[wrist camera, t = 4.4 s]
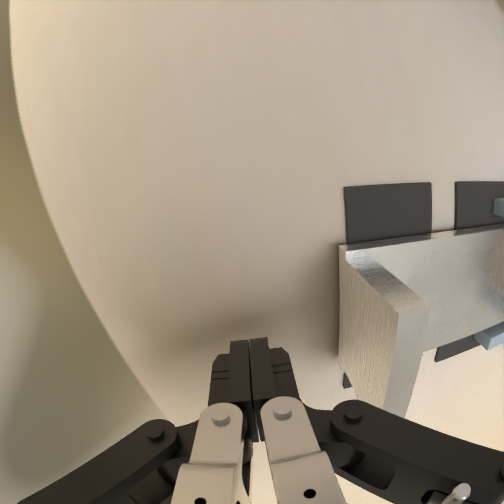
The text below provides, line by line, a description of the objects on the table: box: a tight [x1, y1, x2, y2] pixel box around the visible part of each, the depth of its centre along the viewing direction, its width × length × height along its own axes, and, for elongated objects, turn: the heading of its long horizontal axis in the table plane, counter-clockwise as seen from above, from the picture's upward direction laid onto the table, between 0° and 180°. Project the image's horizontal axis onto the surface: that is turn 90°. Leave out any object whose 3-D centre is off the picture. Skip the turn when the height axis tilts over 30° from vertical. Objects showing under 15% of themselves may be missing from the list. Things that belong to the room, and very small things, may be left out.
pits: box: [343, 182, 504, 389], centre depth 15 cm, size 12×12×1 cm
